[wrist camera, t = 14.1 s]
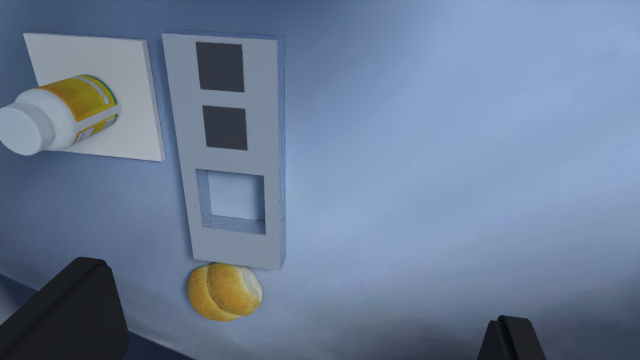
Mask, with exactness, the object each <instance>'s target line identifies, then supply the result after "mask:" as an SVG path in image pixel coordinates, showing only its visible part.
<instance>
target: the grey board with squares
mask: <svg viewBox="0 0 640 360" xmlns="http://www.w3.org/2000/svg"><path fill="white" fill-rule="evenodd" d="M162 40H163V47H164V54H165V61H166V68H167V75H168V82H169V89H170V96H171V103H172V110H173V117H174V124H175V131H176V138H177V145H178V152H179V159H180V166H181V173H182V180H183V187H184V194H185V201H186V208H187V215H188V222H189V229H190V235H191V242H192V249H193V256H194V259H197V260H205V261H212V262H220V263H227V264H234V265H242V266H249V267H257V268H264V269H272V270H279V271H281V268H282V265H283V263H284V260H285V257H286V219H285V80H284V36H271V35H254V34H237V33H220V32H203V31H186V30H173V31H169V32H165V33H162ZM207 170H215V171H224V172H234V173H244V174H253V175H263V176H264V194H265V221H258V220H249V219H241V218H233V217H224V216H216V215H212V213H211V204H210V195H209V186H208V176H207Z"/></svg>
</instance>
